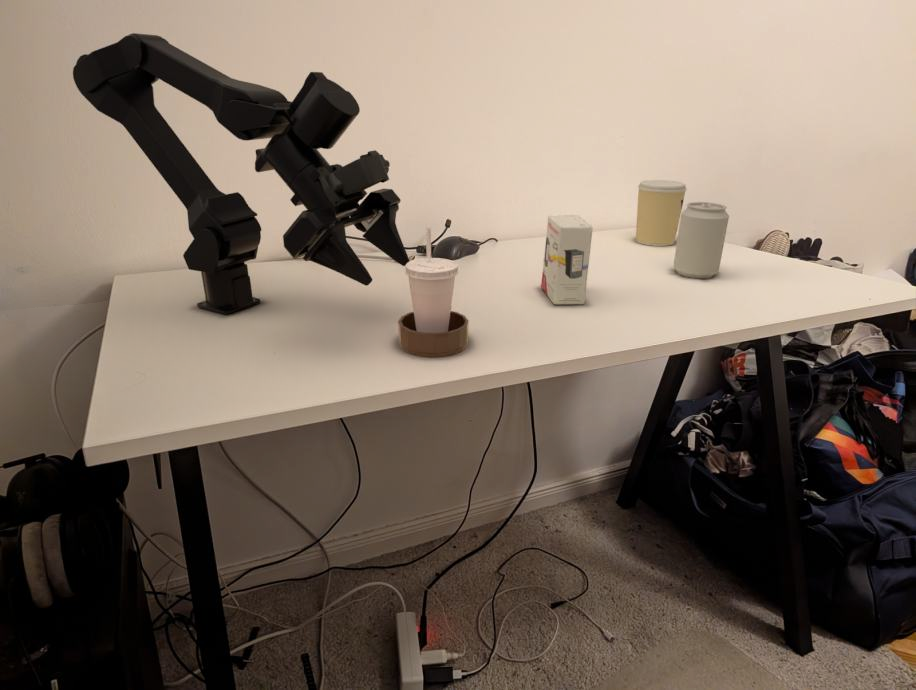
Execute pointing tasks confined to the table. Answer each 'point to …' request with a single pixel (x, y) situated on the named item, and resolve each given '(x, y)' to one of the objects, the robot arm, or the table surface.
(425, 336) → the brown bowl
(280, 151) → the robot arm
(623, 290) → the table surface
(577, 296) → the ink box
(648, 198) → the yellow lidded canister
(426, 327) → the smoothie
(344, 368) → the table surface
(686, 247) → the can
